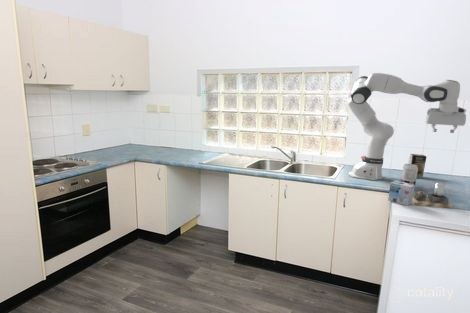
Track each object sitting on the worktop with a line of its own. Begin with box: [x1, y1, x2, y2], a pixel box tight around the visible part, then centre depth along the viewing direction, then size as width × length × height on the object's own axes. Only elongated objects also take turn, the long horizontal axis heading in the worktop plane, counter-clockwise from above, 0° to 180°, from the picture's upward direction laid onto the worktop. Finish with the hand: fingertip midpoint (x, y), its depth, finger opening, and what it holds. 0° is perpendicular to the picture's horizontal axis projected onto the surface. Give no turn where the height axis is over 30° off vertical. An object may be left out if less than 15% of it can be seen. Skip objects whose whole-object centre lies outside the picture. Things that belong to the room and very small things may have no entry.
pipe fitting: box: [433, 182, 446, 198], centre depth 175 cm, size 4×4×10 cm
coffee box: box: [407, 153, 427, 179], centre depth 228 cm, size 9×6×16 cm
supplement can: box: [400, 163, 418, 189], centre depth 201 cm, size 8×8×15 cm
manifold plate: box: [412, 190, 453, 209], centre depth 176 cm, size 18×12×6 cm, turn 80°
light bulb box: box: [387, 179, 416, 207], centre depth 176 cm, size 11×7×11 cm, turn 45°
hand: (443, 132), depth 188 cm, fingers open, 8 cm apart
